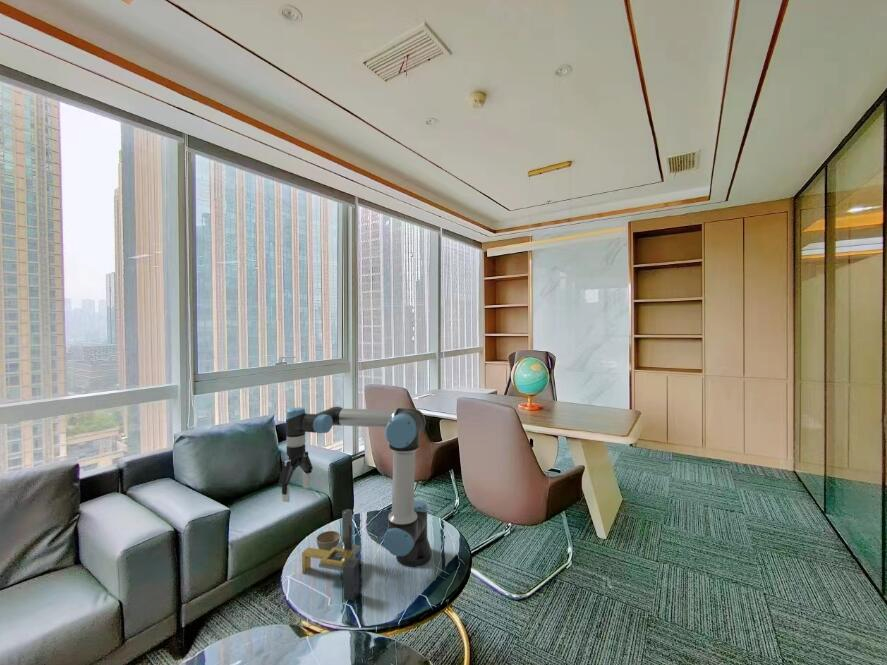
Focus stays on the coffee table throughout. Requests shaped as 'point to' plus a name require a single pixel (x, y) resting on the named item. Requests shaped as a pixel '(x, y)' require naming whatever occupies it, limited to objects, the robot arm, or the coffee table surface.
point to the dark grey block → (351, 580)
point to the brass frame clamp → (334, 549)
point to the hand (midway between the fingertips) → (296, 494)
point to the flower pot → (328, 540)
